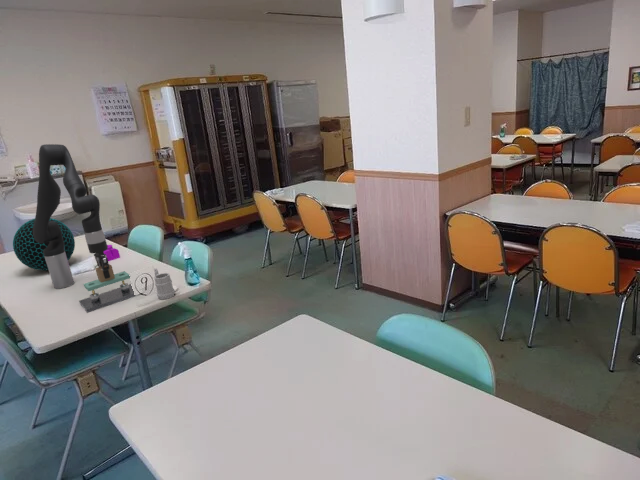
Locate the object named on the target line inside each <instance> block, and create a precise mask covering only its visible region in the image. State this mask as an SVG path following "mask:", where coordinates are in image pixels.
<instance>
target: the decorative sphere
mask: <svg viewBox="0 0 640 480" xmlns="http://www.w3.org/2000/svg"><path fill="white" fill-rule="evenodd" d="M34 221H35V218H32V219H30V220H28V221H26V222H24V223H23V224H22V225H20V227H18V229H17V230H16V232H15V233H14V235H13V240H12V248H13V252H14V255H15V257H16V258H17V259H18V261H20V262H21V264H23V265H24V266H26V267H28V268H30V269H34V270H38V271H49V269H48V266H47V263H46V260H45V257H44V254H43V250H44V249H45V248H46V247H47V246H48V245H49V243H50V241H49V242H46V243H38V242H37V241H36V240H35V239H34V236H33V226H34ZM49 221H54V222H56V223H57V224H58V225H59V227H60V229H61V232H62V237H63V241H64V250H65V253H66V257H67V260H68V261H69V260H70V259H71V257H72V255H73V254H74V252H75V248H76V241H75V240H76V239H75V237H74V234H73V232H72V230H71V229H70V228H69V227H68V226H67V225H66V224H65V223H63V222H61V220H58V219H56V218H52V217H50V219H49Z"/></svg>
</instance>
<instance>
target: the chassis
mask: <svg viewBox="0 0 640 480" xmlns="http://www.w3.org/2000/svg"><path fill="white" fill-rule="evenodd" d="M131 284H132V283H130V284H129V283H128V282H127V283H126V282H125V280H123V281H121V284H120V285H119V287H117V288H114V289H112V290H108V291H105V292H102V293H99V292H96V291H95V290H92V291H91V292H92V293H91V294H89V297H87V298H86V297H85V298H84V299H81V300H78V302H79V304H80V306H81V307H82V308H83V309H84V310H85V311H86V313H90V312H95V311H96V310H99V309H102V308H104V307H108V306H111V305H114V304H116V303H120V302H122V301H125V300H128V299H131V298H134V297H136V296H135V295H134V291H133V289H132V286H131Z"/></svg>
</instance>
